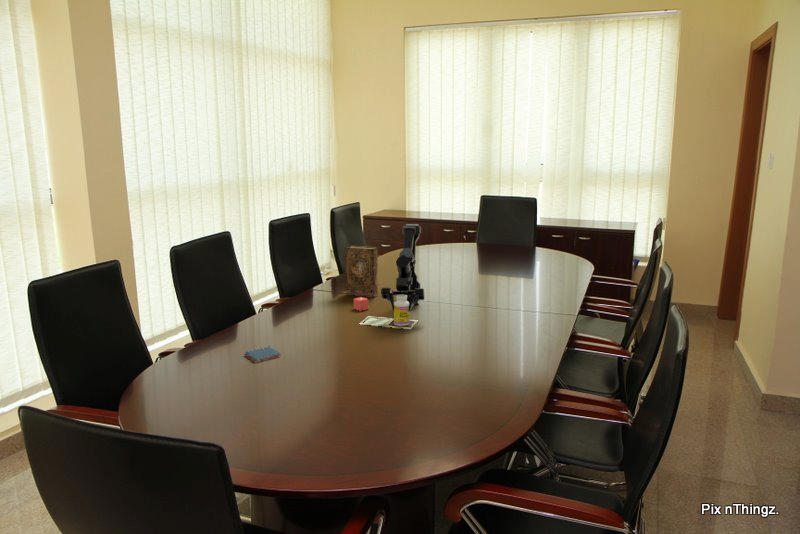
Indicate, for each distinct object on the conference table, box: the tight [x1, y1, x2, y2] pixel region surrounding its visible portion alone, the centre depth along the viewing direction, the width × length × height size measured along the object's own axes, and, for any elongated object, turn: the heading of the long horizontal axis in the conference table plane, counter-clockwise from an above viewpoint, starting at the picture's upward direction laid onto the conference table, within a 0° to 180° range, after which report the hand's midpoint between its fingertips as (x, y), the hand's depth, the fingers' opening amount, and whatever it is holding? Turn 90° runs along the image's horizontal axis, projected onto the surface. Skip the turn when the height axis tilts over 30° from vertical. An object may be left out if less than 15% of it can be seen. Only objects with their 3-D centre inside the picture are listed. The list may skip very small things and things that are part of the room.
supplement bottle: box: [393, 294, 410, 327], centre depth 263 cm, size 7×7×13 cm
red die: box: [353, 296, 370, 312], centre depth 287 cm, size 5×5×6 cm
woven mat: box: [244, 346, 281, 364], centre depth 227 cm, size 10×11×2 cm
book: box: [344, 245, 379, 298], centre depth 311 cm, size 16×6×25 cm, turn 68°
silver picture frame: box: [358, 315, 419, 330], centre depth 266 cm, size 23×12×1 cm, turn 73°
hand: (401, 310), depth 262 cm, fingers closed on supplement bottle, 7 cm apart
